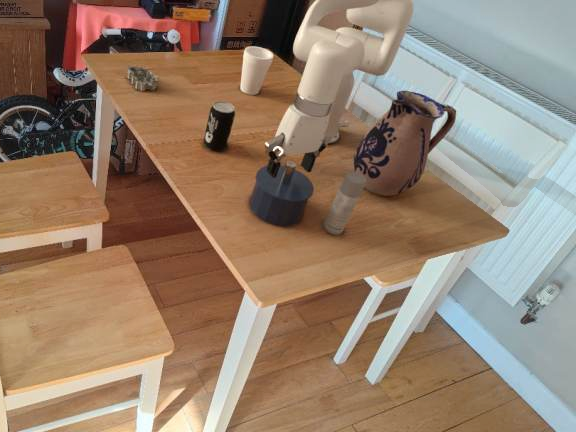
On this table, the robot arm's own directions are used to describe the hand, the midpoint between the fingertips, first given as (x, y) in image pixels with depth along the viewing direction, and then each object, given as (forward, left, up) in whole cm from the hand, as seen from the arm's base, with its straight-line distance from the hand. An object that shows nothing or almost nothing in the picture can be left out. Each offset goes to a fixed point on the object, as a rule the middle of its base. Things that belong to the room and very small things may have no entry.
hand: (288, 171), depth 116 cm
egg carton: (+9, -65, -11) cm, 67 cm away
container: (-10, +10, -11) cm, 18 cm away
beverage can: (+2, -28, -11) cm, 30 cm away
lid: (0, 0, -4) cm, 4 cm away
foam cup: (-26, -56, -11) cm, 63 cm away
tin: (0, 0, -11) cm, 11 cm away
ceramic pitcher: (-36, -1, -11) cm, 38 cm away
